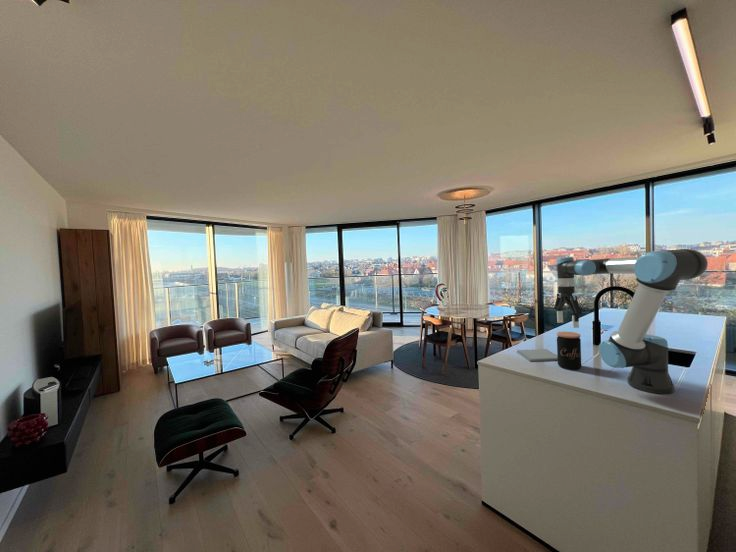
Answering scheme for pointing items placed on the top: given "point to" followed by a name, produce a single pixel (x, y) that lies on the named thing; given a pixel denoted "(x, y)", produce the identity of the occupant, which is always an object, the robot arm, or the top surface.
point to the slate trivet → (538, 355)
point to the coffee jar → (569, 350)
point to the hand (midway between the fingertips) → (567, 325)
